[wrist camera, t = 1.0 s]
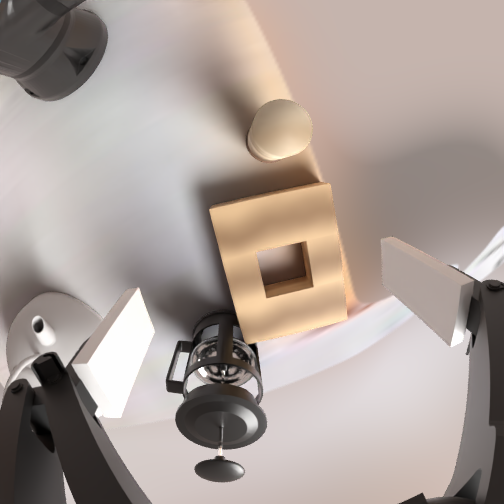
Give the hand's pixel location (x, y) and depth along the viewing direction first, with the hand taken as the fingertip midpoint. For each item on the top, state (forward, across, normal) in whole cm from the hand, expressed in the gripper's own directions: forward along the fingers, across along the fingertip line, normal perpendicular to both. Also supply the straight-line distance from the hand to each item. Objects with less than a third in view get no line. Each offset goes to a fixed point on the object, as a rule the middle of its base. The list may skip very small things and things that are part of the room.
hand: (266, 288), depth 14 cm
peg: (+22, +4, +8) cm, 24 cm away
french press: (+22, -7, -16) cm, 28 cm away
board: (+22, +3, -7) cm, 24 cm away
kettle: (+23, -34, -15) cm, 43 cm away
